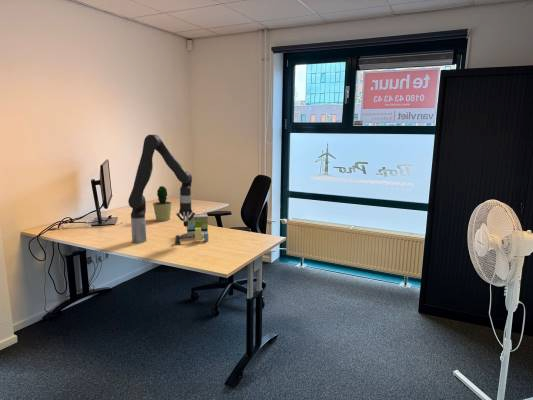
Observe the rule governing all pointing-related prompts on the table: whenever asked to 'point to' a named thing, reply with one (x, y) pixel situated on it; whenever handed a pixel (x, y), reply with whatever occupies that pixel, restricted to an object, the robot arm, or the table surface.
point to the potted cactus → (162, 205)
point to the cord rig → (205, 237)
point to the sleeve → (198, 234)
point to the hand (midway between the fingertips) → (185, 226)
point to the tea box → (197, 223)
